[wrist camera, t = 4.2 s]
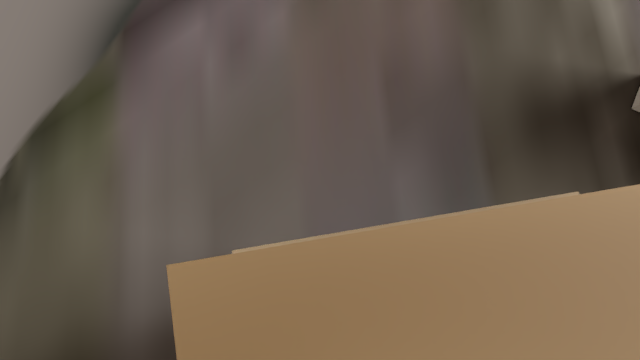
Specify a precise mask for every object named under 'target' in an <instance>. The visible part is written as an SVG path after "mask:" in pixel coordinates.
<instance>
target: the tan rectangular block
mask: <svg viewBox="0 0 640 360" xmlns="http://www.w3.org/2000/svg"><path fill="white" fill-rule="evenodd" d="M166 266H167V275H168V284H169V293H170V302H171V311H172V320H173V329H174V338H175V348H176V357H177V360H640V184H638V185H632V186H626V187H620V188H615V189H609V190H603V191H597V192H591V193H585V194H580V195H579V192H572V193H566V194H561V195H555V196H549V197H543V198H537V199H531V200H525V201H520V202H514V203H508V204H502V205H496V206H490V207H484V208H479V209H473V210H467V211H461V212H455V213H449V214H443V215H438V216H432V217H426V218H420V219H414V220H408V221H402V222H397V223H391V224H385V225H379V226H373V227H367V228H361V229H356V230H350V231H344V232H338V233H332V234H326V235H320V236H315V237H309V238H303V239H297V240H291V241H285V242H279V243H274V244H268V245H262V246H256V247H250V248H244V249H238V250H233V251H232V254H229V255H223V256H217V257H211V258H206V259H200V260H194V261H188V262H182V263H176V264H171V265H166Z"/></svg>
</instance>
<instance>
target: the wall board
mask: <svg viewBox="0 0 640 360" xmlns="http://www.w3.org/2000/svg"><path fill="white" fill-rule="evenodd" d="M632 109H633V110H635V111H638V112H640V87H639V90H638V92H637V95H636V98H635V101H634V103H633V106H632Z"/></svg>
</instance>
